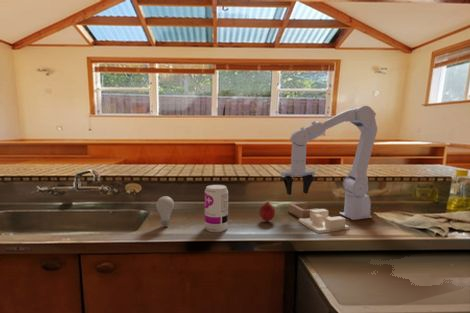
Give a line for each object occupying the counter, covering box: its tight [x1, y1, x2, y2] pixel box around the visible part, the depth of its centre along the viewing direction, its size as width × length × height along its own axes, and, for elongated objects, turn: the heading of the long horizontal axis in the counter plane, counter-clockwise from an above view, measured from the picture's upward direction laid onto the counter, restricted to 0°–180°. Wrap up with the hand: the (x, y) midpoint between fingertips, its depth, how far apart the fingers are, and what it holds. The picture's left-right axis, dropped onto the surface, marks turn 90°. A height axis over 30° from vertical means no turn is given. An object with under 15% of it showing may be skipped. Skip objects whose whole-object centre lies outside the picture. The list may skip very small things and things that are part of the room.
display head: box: [298, 208, 350, 234], centre depth 94 cm, size 13×12×4 cm
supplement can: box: [204, 184, 229, 233], centre depth 90 cm, size 8×8×15 cm
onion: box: [259, 200, 276, 223], centre depth 97 cm, size 6×6×8 cm
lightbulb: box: [155, 195, 175, 227], centre depth 91 cm, size 6×6×11 cm
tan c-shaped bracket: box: [288, 201, 319, 219], centre depth 106 cm, size 8×10×4 cm
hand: (297, 193), depth 104 cm, fingers open, 7 cm apart
